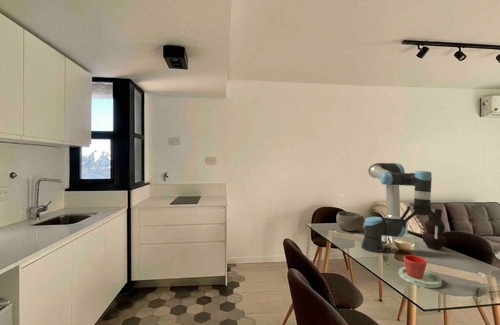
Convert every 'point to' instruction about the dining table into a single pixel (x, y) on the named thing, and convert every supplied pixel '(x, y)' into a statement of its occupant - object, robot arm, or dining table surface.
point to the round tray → (422, 279)
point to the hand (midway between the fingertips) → (420, 236)
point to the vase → (430, 234)
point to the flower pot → (415, 266)
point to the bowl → (350, 221)
